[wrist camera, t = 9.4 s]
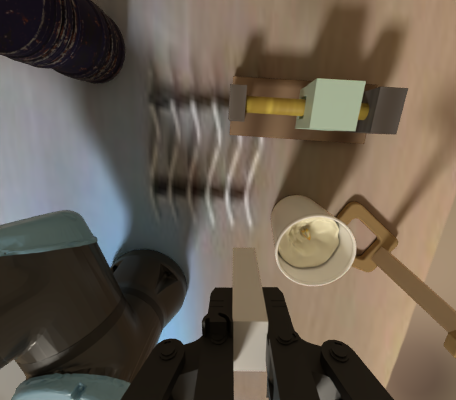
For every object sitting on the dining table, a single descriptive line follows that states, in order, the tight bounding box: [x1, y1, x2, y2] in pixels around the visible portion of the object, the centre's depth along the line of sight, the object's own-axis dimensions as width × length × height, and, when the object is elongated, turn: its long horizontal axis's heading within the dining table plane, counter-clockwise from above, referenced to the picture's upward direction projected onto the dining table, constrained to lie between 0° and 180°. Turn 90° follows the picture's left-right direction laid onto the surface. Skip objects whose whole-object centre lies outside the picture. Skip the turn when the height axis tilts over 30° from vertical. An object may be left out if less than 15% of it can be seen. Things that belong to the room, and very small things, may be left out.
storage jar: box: [0, 0, 125, 84], centre depth 28 cm, size 10×10×15 cm
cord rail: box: [228, 76, 408, 144], centre depth 32 cm, size 20×8×8 cm, turn 86°
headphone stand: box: [336, 202, 456, 358], centre depth 31 cm, size 10×11×22 cm
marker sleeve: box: [295, 78, 366, 131], centre depth 29 cm, size 5×5×7 cm
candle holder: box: [271, 195, 356, 286], centre depth 35 cm, size 10×10×12 cm
